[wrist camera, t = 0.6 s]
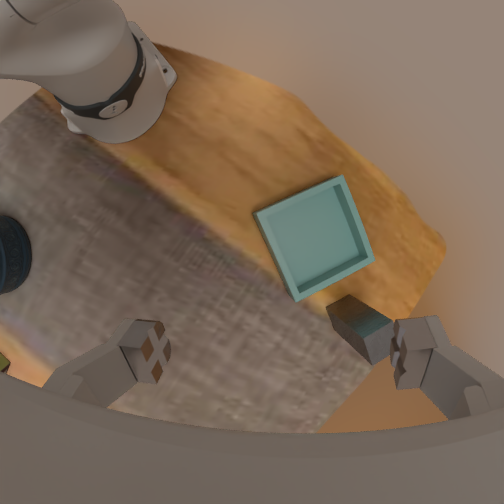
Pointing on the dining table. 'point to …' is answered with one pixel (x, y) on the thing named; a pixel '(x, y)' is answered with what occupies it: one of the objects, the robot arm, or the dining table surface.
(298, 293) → the tray
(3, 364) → the protein box
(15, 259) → the canister
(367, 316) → the brushed steel pillar
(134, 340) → the robot arm
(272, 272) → the dining table surface
